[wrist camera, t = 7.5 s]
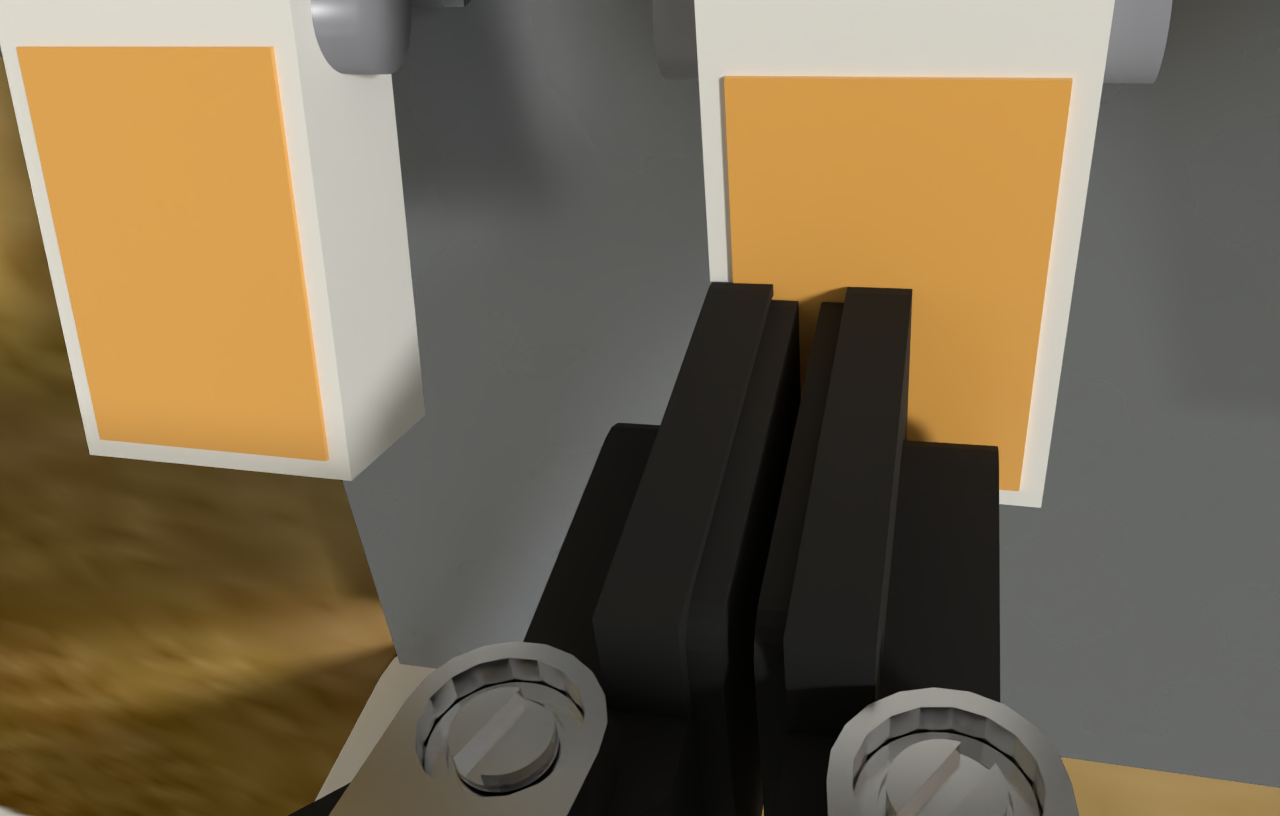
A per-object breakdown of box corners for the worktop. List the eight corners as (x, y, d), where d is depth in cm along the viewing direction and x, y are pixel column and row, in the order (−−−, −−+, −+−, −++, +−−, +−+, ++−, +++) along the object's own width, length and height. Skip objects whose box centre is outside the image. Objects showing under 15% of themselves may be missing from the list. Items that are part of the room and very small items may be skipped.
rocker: (-13, -491, 10) (-184, -563, 9) (376, -544, 9) (260, -632, 8) (157, 392, 13) (51, 453, 12) (461, 417, 12) (389, 488, 11)
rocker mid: (652, -649, 8) (580, -685, 6) (1268, -743, 7) (1326, -805, 5) (713, 378, 12) (677, 478, 11) (1081, 404, 11) (1090, 516, 10)
